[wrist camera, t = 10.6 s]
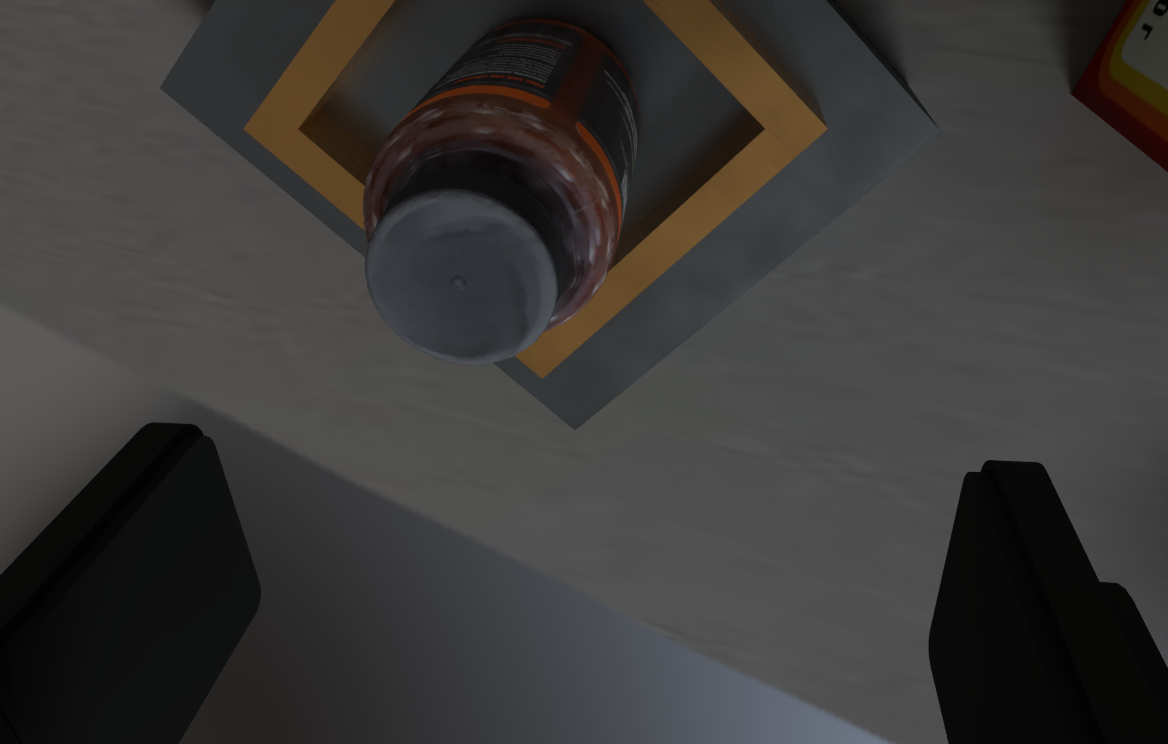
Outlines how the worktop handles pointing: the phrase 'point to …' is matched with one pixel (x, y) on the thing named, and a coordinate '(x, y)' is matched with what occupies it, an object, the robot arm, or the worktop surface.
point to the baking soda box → (1133, 78)
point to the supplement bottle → (502, 193)
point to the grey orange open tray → (663, 161)
